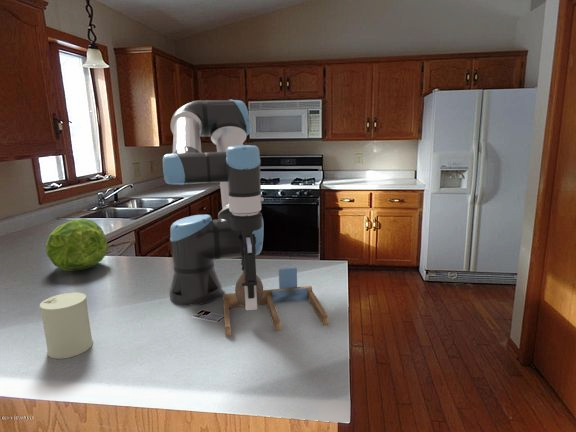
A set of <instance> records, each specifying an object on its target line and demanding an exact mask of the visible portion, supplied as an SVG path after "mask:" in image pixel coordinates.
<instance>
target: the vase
mask: <svg viewBox="0 0 576 432" xmlns="http://www.w3.org/2000/svg"><path fill="white" fill-rule="evenodd" d="M242 272H243V273H242ZM242 272H241V275H240V276H239V277H238V279H237V280H236V281H235V282H236V283H235V287H234V293H235V294H236V297H237V300H238V301H239V302H240V303H241V304H242V305H243V306H242V307H246V306H245V286H242V283H245V273H244V270H243V271H242ZM256 280H257V285H256V293H257V305H259V304H258V303H259V302H260V301H261V299H262V296H263V290H264V285H263V282H262V280H261V278H260V277H259V275H257V274H256Z"/></svg>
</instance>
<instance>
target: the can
mask: <svg viewBox="0 0 576 432" xmlns="http://www.w3.org/2000/svg"><path fill="white" fill-rule="evenodd" d="M87 301H88V300H87V294H85V293H83V292H76V291H74V292H65V293H60V294H57V295H56V294H55V295H52V296H50V297H49V298H46V299H44V300H43V301H41V302H40V304H39V309H40V313H41V314H40V315H41V319H42V324H43V330H44V335H45V336H44V338H45V342H46V350H47V352H46V354H47V356H48V357H49V358H51V359H56V360H57V359H58V360H59V359H68V358H69V359H70V358H72V357H76V356H79V355H81V354H83V353H84V352H86V351H88V350H90V348H91V347H92V346H93V345H94V340H93V336H92V332H91V325H90V324H91V323H90V318H89V310H88V304H87V303H88V302H87Z"/></svg>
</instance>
